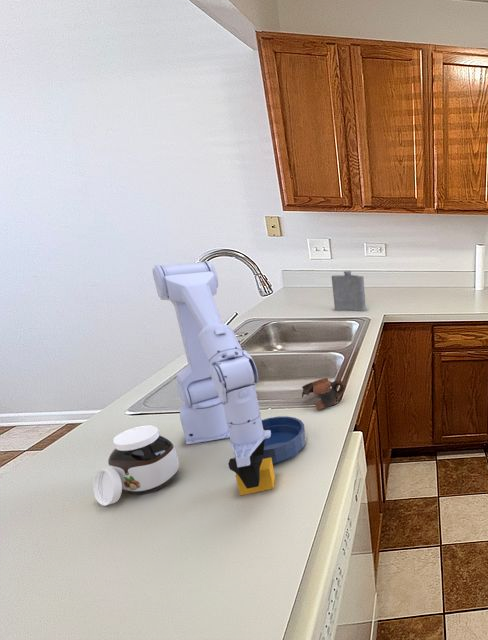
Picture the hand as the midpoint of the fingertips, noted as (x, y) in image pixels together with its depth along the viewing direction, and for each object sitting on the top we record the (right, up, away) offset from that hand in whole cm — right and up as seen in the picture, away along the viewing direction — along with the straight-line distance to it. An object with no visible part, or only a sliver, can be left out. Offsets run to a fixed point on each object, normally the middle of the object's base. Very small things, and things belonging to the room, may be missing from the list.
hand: (255, 474), depth 81 cm
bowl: (-3, +2, +13) cm, 13 cm away
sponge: (0, -3, +1) cm, 3 cm away
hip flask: (-21, +44, +125) cm, 134 cm away
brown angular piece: (+1, +10, +35) cm, 36 cm away
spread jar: (-23, -3, -1) cm, 23 cm away
